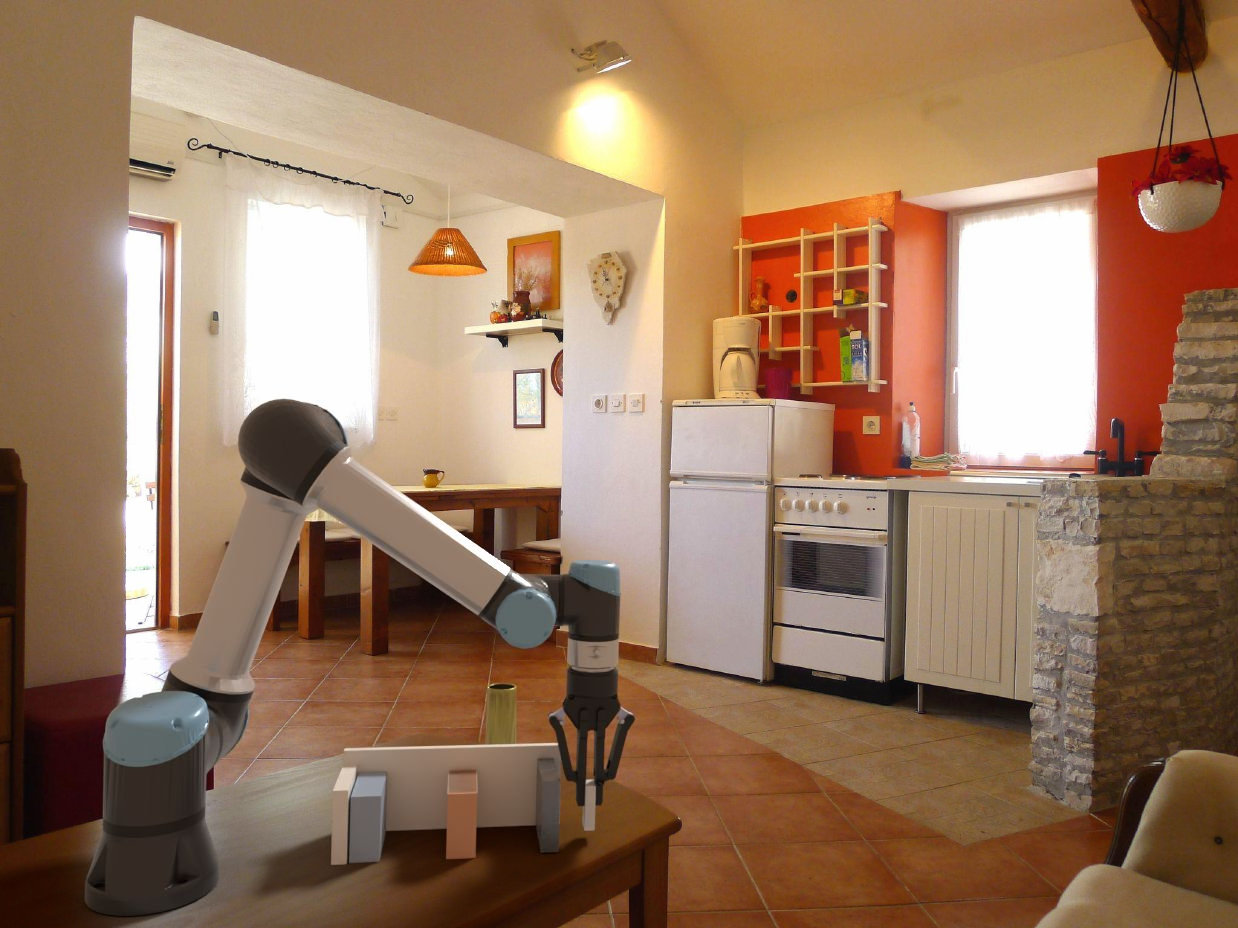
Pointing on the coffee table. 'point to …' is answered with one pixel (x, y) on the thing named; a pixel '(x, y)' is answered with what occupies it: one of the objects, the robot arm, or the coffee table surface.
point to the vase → (501, 714)
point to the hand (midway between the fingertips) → (588, 826)
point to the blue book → (368, 817)
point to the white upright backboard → (442, 785)
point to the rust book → (461, 814)
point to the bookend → (547, 805)
